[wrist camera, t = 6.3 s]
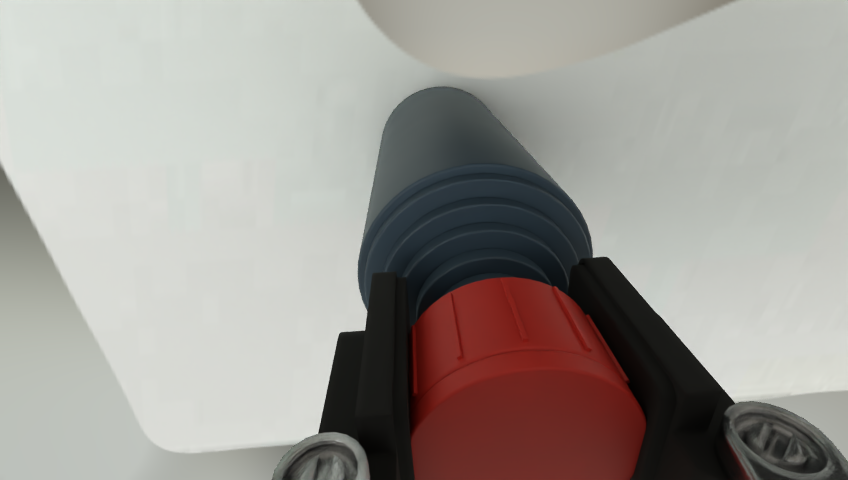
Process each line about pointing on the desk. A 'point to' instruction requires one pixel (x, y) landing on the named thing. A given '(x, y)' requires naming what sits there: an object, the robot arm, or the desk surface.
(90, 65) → the desk surface
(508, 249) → the bottle
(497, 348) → the cap
